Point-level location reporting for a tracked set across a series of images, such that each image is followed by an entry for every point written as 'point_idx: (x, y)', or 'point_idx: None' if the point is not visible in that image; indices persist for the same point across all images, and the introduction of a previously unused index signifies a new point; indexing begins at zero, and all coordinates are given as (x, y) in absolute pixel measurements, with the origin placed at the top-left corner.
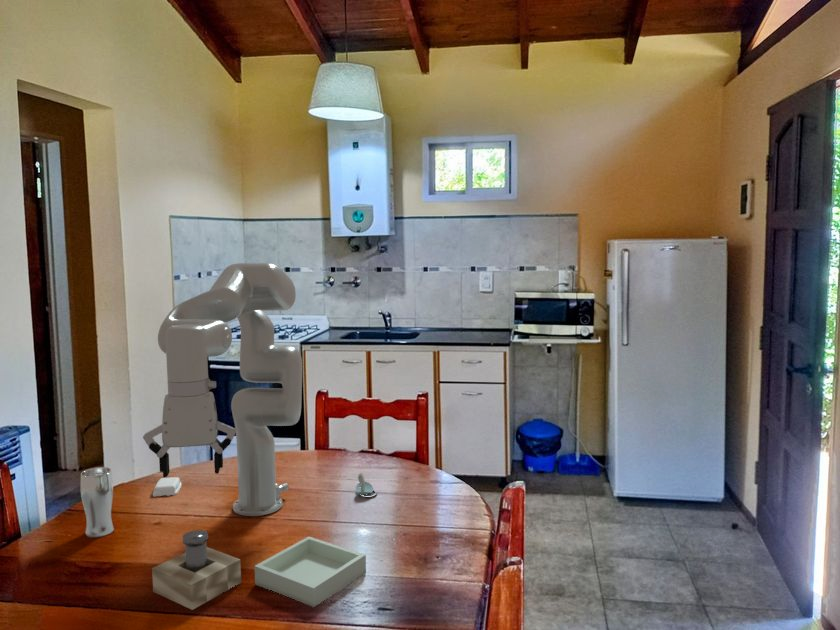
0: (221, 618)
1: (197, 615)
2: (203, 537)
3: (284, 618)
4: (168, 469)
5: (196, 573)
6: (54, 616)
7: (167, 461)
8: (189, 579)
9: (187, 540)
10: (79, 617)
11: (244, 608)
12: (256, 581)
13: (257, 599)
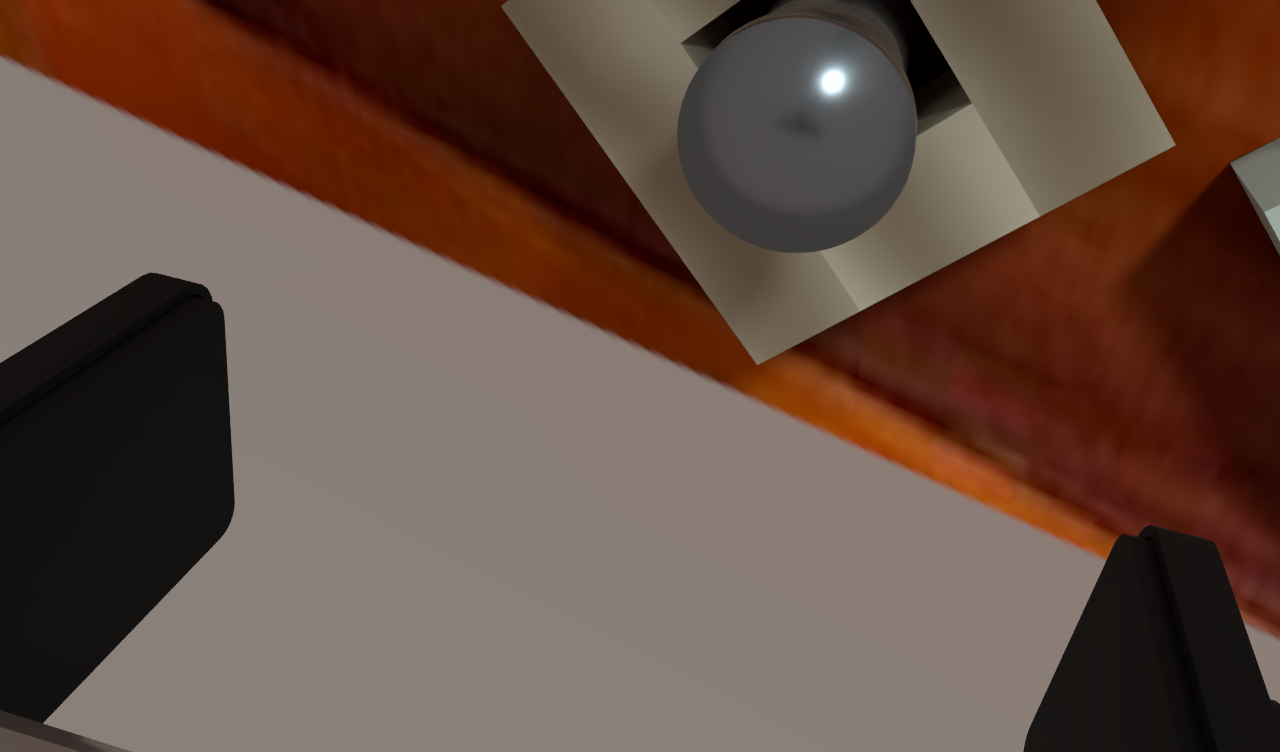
0: (919, 438)
1: (802, 356)
2: (859, 226)
3: (1241, 584)
4: (180, 422)
5: None
6: (87, 42)
7: (61, 595)
8: (751, 293)
9: (716, 222)
10: (213, 108)
11: (1065, 404)
12: (1242, 184)
13: (1173, 347)
